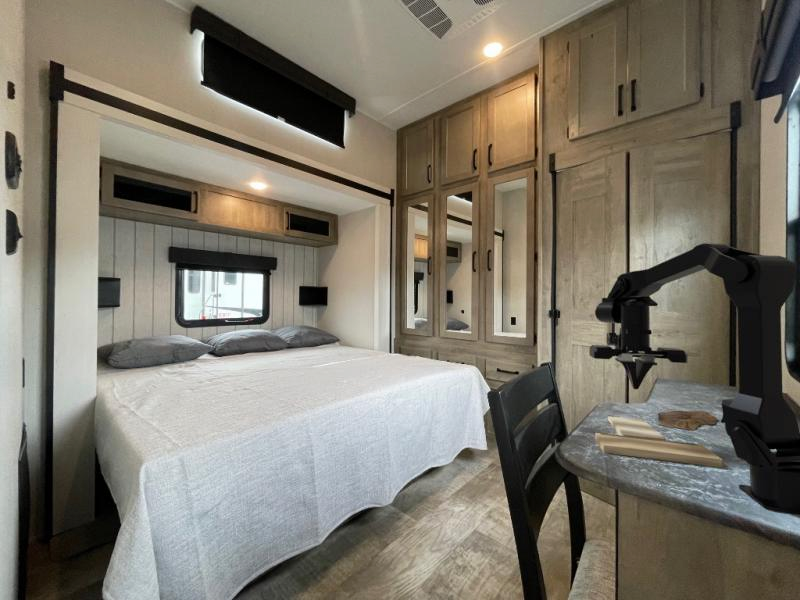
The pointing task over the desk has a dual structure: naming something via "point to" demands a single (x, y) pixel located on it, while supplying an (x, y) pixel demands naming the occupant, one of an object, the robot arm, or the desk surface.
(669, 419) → the wooden fragment
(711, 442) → the desk surface
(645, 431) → the birch plank
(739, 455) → the robot arm
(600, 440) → the oak floor board
